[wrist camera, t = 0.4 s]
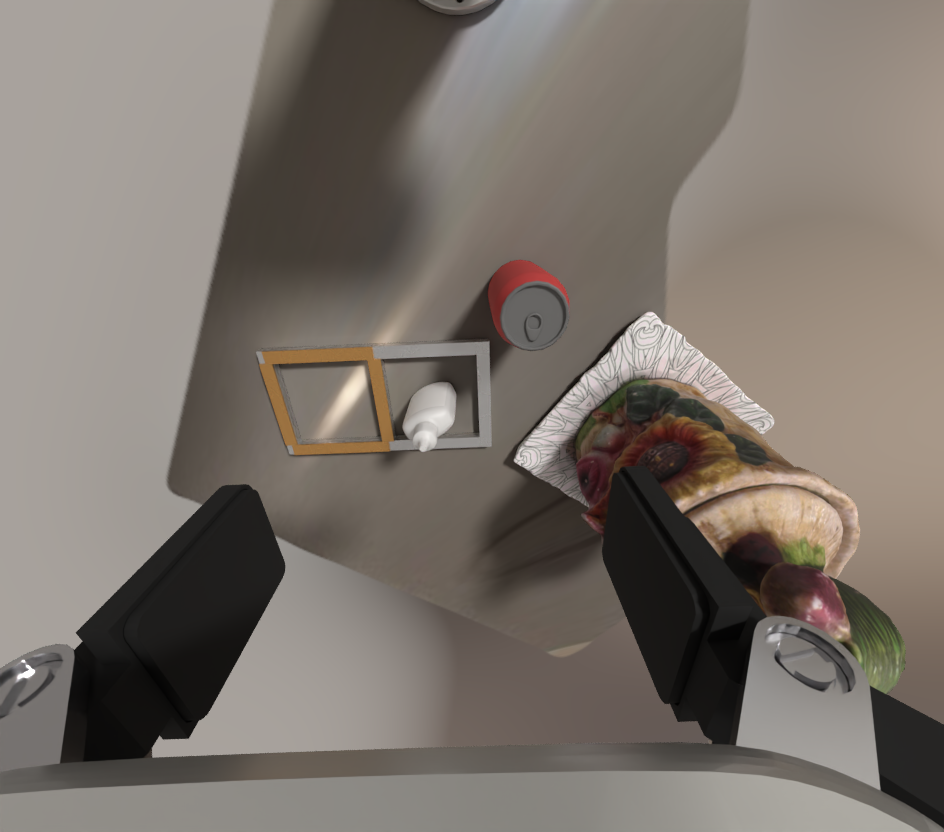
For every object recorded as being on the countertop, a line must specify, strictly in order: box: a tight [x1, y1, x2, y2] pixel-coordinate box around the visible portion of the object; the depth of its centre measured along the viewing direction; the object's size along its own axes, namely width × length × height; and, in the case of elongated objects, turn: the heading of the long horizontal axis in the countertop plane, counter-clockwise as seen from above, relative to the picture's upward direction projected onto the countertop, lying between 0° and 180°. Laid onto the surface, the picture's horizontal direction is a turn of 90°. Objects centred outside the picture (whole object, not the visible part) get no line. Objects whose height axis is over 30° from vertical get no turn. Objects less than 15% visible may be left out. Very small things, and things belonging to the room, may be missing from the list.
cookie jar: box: [514, 312, 905, 694], centre depth 35 cm, size 25×25×32 cm
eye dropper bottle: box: [402, 382, 456, 452], centre depth 41 cm, size 4×6×12 cm
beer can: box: [488, 260, 569, 351], centre depth 35 cm, size 7×7×12 cm
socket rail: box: [256, 338, 492, 455], centre depth 45 cm, size 14×26×1 cm, turn 92°
